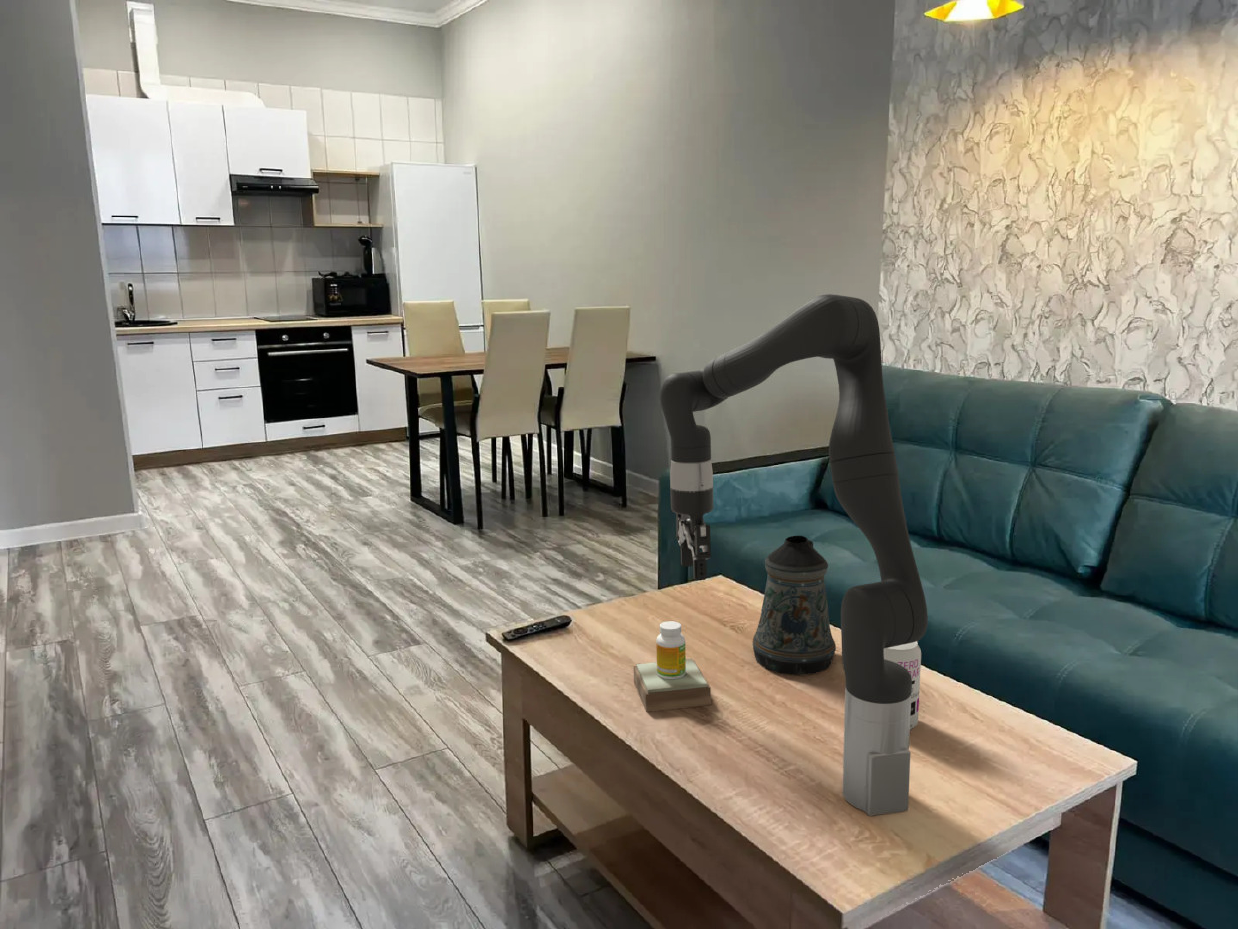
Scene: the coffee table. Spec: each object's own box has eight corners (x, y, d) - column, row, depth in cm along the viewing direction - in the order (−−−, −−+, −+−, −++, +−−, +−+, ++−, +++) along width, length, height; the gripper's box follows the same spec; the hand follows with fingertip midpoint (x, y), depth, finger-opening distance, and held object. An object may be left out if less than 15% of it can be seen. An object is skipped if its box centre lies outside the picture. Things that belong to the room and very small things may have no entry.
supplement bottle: (683, 681, 161) (683, 631, 159) (654, 679, 162) (653, 630, 160) (687, 668, 166) (686, 620, 164) (659, 666, 167) (658, 618, 165)
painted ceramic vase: (759, 677, 171) (759, 554, 165) (745, 637, 190) (745, 525, 184) (844, 675, 170) (847, 552, 165) (822, 635, 189) (824, 523, 184)
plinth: (710, 705, 160) (710, 684, 159) (646, 712, 158) (645, 691, 157) (694, 676, 172) (694, 657, 171) (633, 682, 170) (633, 663, 169)
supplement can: (883, 706, 158) (886, 627, 155) (926, 721, 152) (930, 640, 149) (859, 722, 152) (861, 641, 149) (903, 739, 146) (907, 655, 143)
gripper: (724, 491, 149) (725, 582, 152) (700, 475, 163) (702, 559, 166) (681, 494, 148) (683, 587, 151) (661, 478, 161) (663, 563, 164)
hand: (693, 572), depth 158 cm, fingers open, 8 cm apart
